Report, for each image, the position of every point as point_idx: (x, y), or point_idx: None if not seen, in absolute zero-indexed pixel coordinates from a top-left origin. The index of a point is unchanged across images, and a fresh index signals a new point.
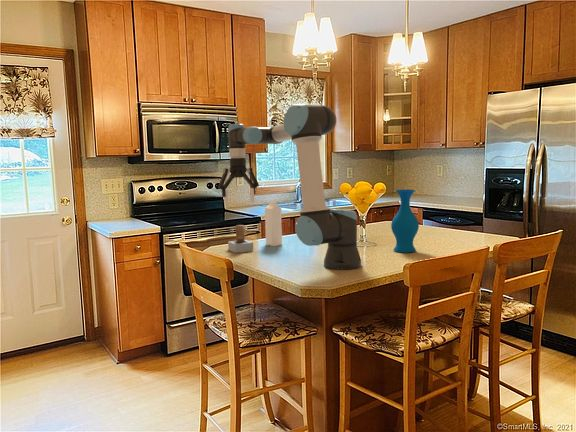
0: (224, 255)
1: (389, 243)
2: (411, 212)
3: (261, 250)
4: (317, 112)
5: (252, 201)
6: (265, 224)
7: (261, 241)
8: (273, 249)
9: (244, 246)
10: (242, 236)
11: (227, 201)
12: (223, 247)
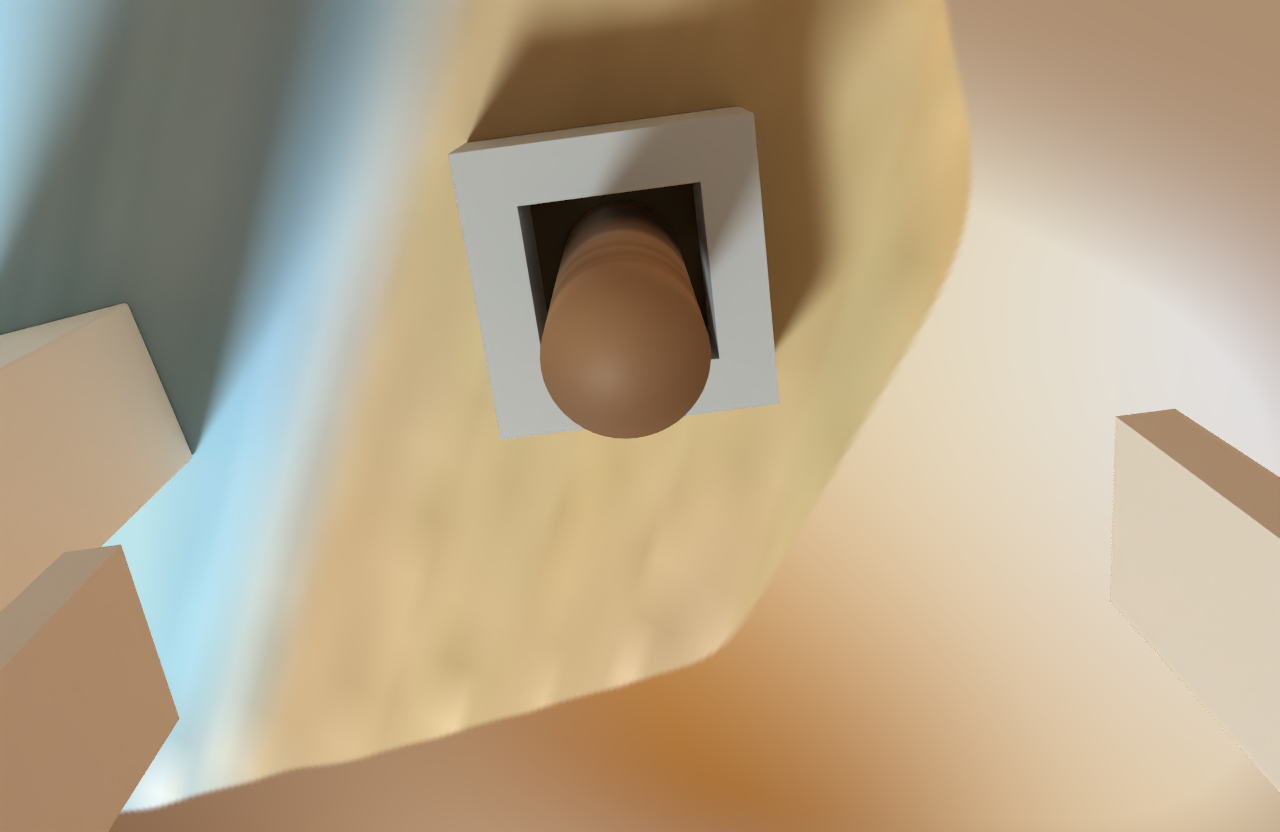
0: (935, 23)
1: None
2: None
3: (351, 99)
4: None
5: (124, 582)
6: None
7: (202, 680)
8: (163, 80)
9: (603, 129)
10: (603, 240)
11: (1177, 447)
12: (772, 540)
